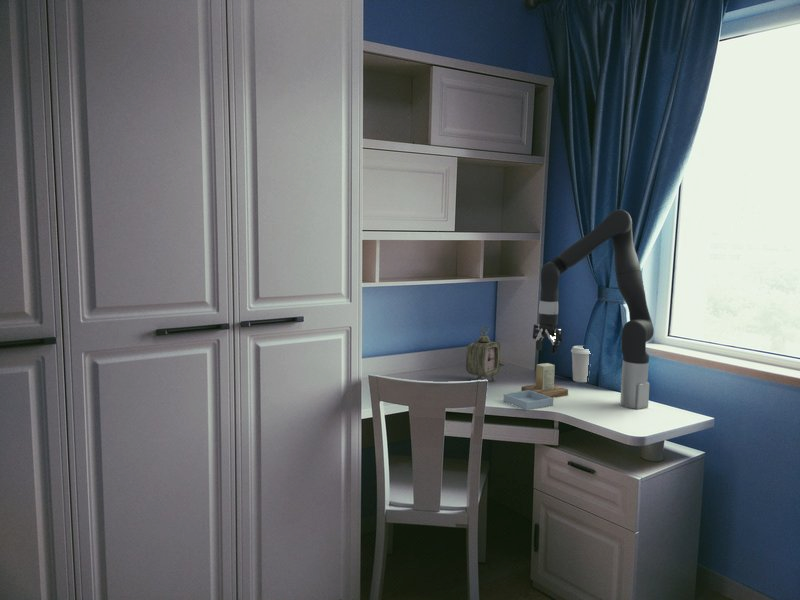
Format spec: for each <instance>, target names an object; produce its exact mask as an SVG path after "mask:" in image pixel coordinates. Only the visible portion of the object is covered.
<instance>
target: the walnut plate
mask: <svg viewBox="0 0 800 600" xmlns="http://www.w3.org/2000/svg"><path fill="white" fill-rule="evenodd" d="M520 390H521V391H527V390H531V391H534V392H537V393H540V394H543V395H545V396H548V397H551V398H553V399H554V397H555V398H560V397H567V396H569V389H568V388H565V387H562V386H559V385H555V384H554V389H550V390H543V391H542V390H539V389H536V383H535V384H530V385H529V384H528V385H522V386H521V389H520Z"/></svg>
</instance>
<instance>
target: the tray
mask: <svg viewBox="0 0 800 600" xmlns="http://www.w3.org/2000/svg"><path fill="white" fill-rule="evenodd" d="M502 399H503V401H505V402H504V403H506V402H507V403H506V404H508V403H510V404H509V405H511V404H513V405H512V406H514V405H515V406H514V407H516V406H517V407H516V408H519V407H520V409H521V408H522V410H524V411H532V410H537V409H543V408H548V407H549V406H550V407H554V398H551V397H548V396H545V395H543V394H540V393H537V392H534V391H531V390H527V391H514V392H509V393H508V392H507V393H503V398H502ZM503 401H502V402H503ZM550 407H549V408H550Z"/></svg>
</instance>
